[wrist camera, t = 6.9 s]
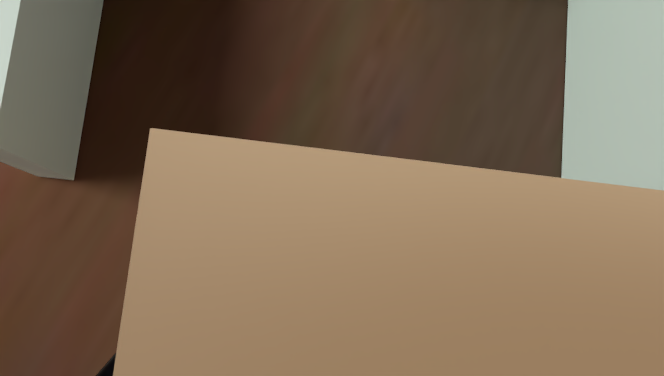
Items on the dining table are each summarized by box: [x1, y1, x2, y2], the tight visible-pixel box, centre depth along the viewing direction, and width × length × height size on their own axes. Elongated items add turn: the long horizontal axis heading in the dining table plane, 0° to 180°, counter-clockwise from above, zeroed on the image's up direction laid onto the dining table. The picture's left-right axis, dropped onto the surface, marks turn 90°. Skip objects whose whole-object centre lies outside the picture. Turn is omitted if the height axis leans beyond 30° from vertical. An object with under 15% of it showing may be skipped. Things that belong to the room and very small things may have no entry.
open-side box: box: [0, 0, 664, 191], centre depth 15 cm, size 10×17×5 cm, turn 84°
